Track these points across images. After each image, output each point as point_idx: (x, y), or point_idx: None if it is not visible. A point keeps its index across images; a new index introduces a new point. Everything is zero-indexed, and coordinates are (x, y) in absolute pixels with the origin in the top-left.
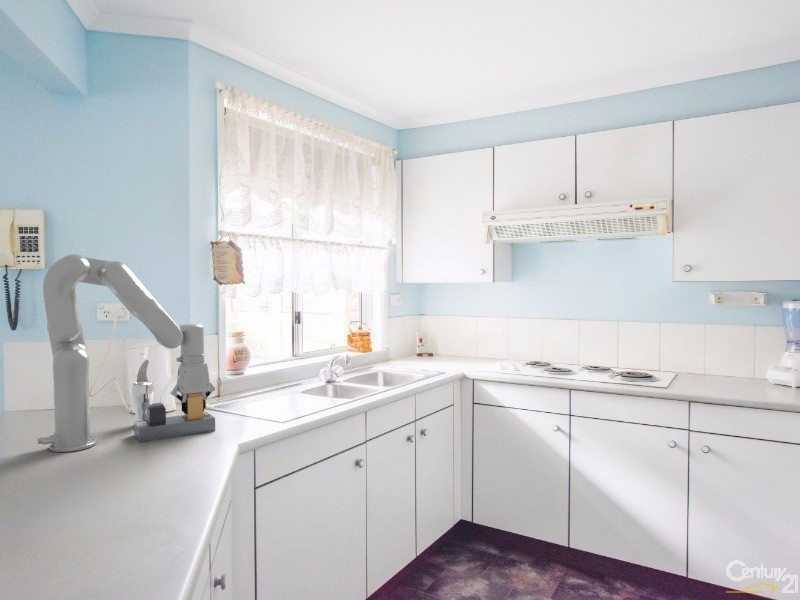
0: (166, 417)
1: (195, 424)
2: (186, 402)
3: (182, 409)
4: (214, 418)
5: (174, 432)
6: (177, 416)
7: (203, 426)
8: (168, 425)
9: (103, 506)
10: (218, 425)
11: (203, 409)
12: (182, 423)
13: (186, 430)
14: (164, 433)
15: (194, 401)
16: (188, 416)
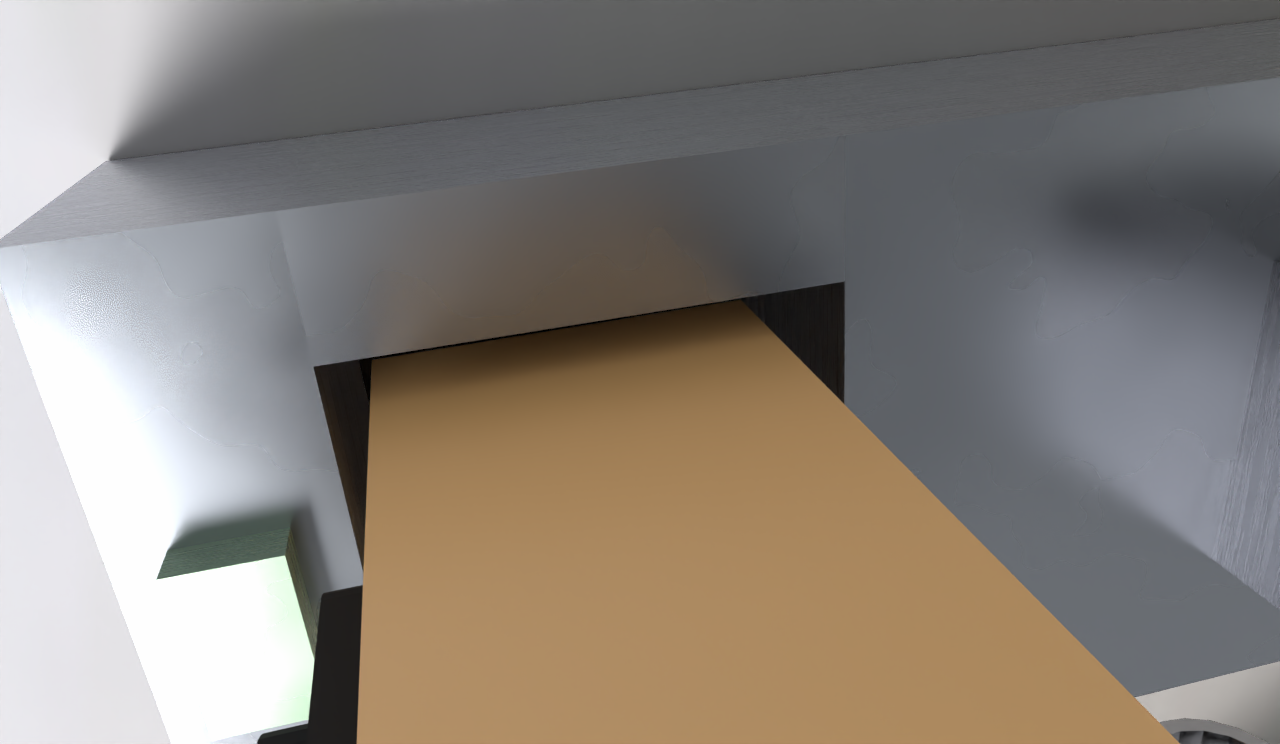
0: None
1: (604, 141)
2: None
3: None
4: (17, 242)
5: (1024, 62)
6: None
7: (388, 156)
8: (1267, 73)
9: None
10: (32, 572)
11: (347, 620)
12: (955, 114)
13: (784, 95)
14: (1211, 46)
15: (793, 714)
16: (809, 370)
